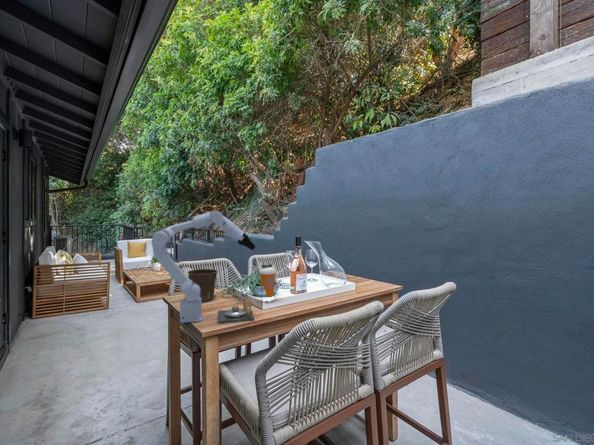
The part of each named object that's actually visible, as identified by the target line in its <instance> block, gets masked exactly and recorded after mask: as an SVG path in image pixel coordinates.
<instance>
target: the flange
mask: <svg viewBox="0 0 594 445" xmlns="http://www.w3.org/2000/svg"><path fill="white" fill-rule="evenodd" d="M242 302H243V303H242V304H243V307H242V308H241V307H239V306H237V305H235V306H232V308H229V309H225V310H226V311H225V315H226V316H228V317H239V316H243V315H245V314H246V311H247V307H250V310H252V300H250V299H249V300H244V301H242Z"/></svg>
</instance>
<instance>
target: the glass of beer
mask: <svg viewBox="0 0 594 445" xmlns="http://www.w3.org/2000/svg"><path fill="white" fill-rule="evenodd" d="M275 268H276V266H275V265H274V264H270V263H269V264H261V268H259V277H260V281H261V282H260V286H261V285H262V286H263V287H264V289H265V291H266V296H267V297H272V296H274V297H275V294H274V287H275V288H276V286H275V285H276V273H277V271H276V269H275Z"/></svg>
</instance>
